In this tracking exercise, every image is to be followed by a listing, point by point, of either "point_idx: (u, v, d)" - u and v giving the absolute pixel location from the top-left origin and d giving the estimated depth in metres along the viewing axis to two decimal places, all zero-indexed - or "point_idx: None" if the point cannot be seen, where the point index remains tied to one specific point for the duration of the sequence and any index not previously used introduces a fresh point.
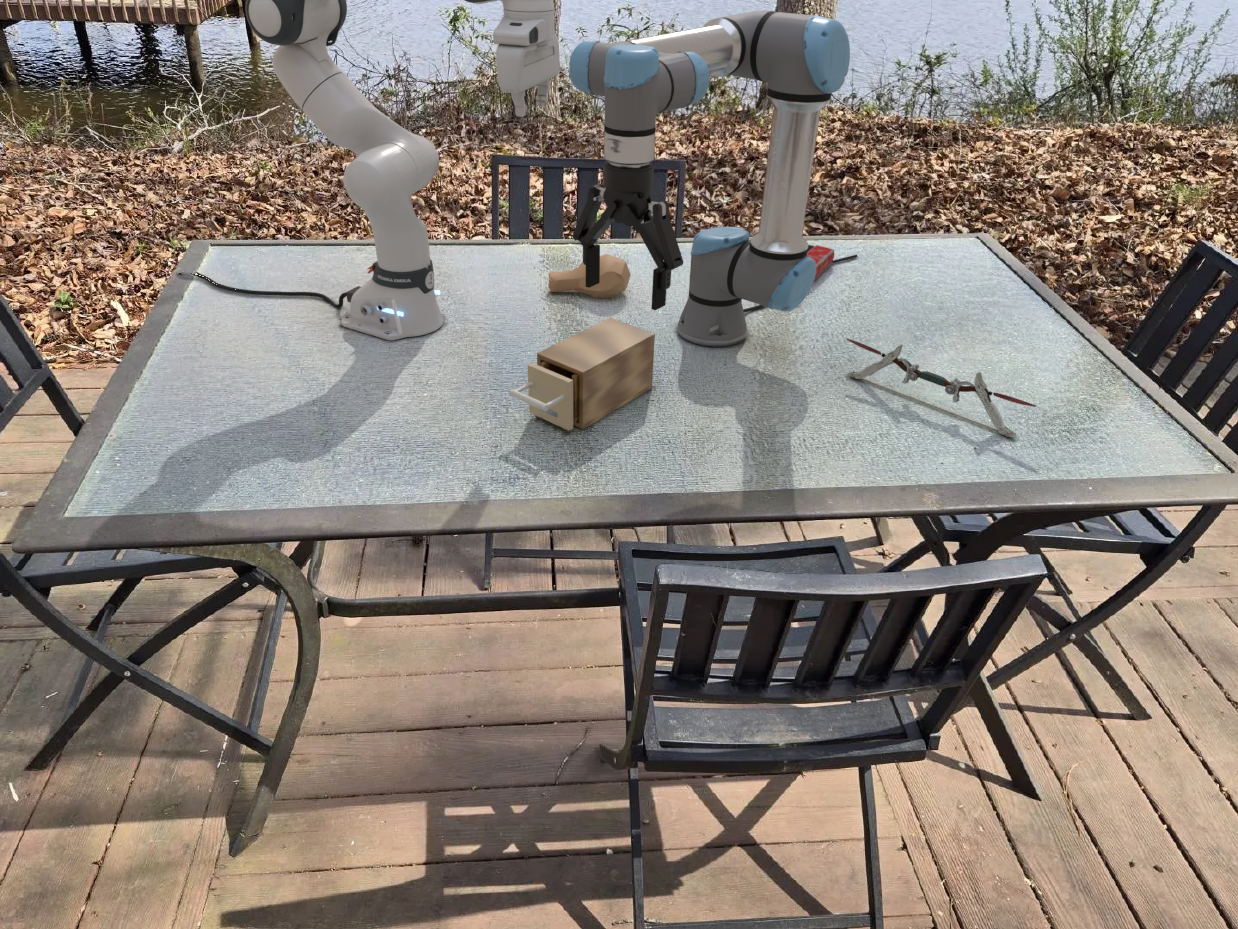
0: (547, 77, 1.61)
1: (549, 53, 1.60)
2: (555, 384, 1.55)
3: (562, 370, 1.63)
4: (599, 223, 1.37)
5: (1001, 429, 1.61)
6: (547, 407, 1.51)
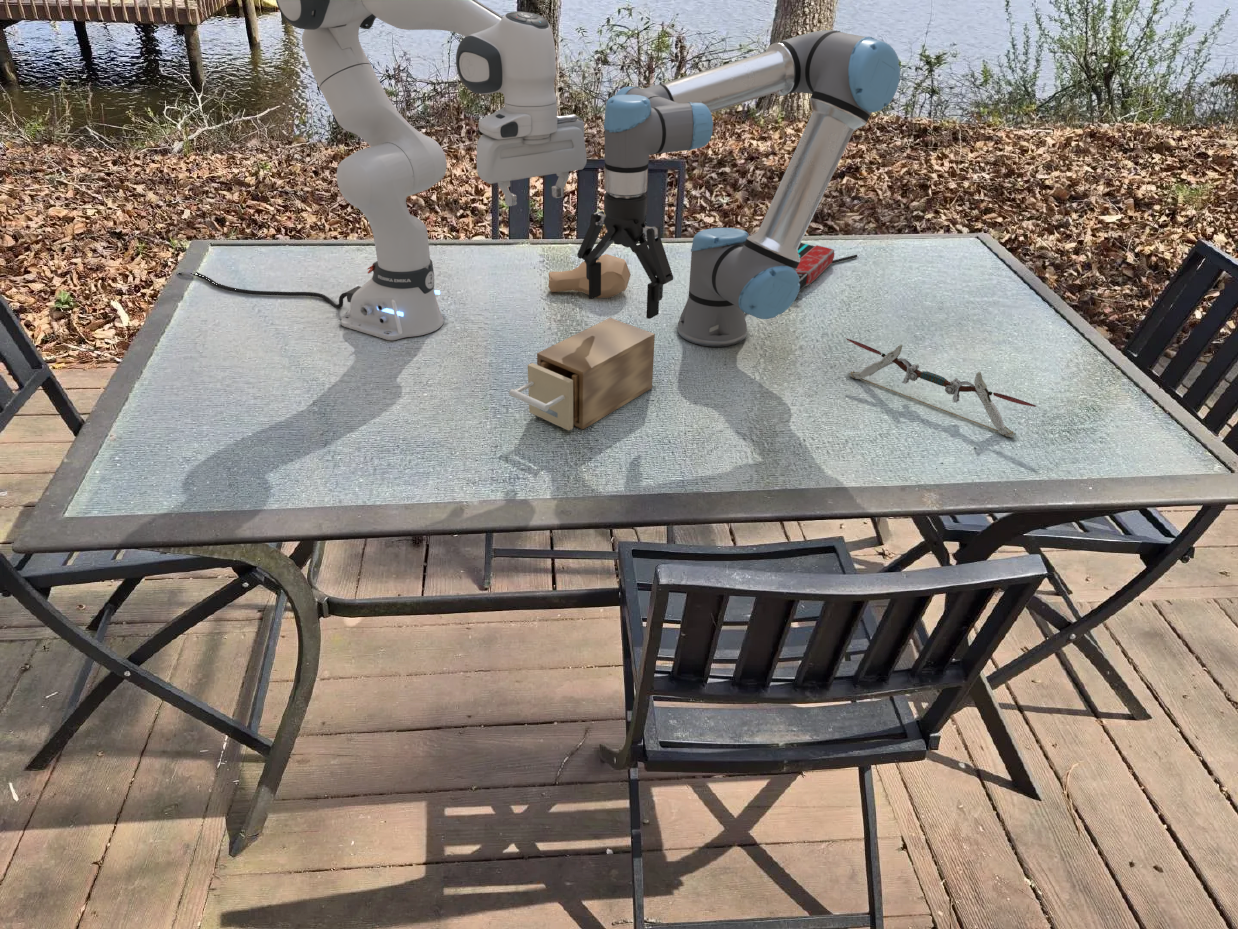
0: (555, 170, 1.54)
1: (563, 146, 1.53)
2: (555, 384, 1.55)
3: (562, 370, 1.63)
4: None
5: (1001, 429, 1.61)
6: (547, 407, 1.51)
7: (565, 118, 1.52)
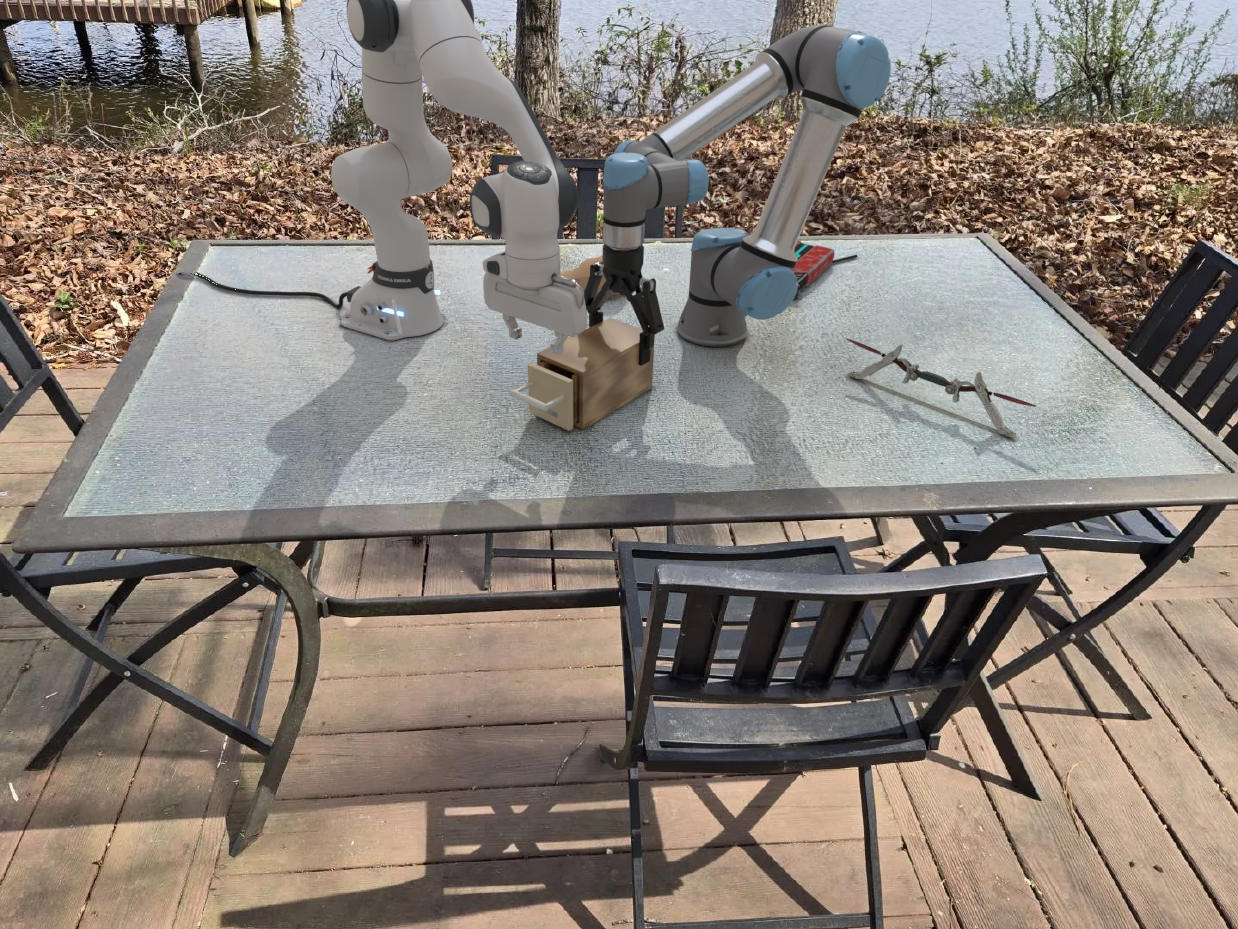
0: (543, 325, 1.45)
1: (553, 306, 1.42)
2: (555, 384, 1.55)
3: (562, 370, 1.63)
4: None
5: (1001, 429, 1.61)
6: (547, 407, 1.51)
7: (561, 279, 1.40)
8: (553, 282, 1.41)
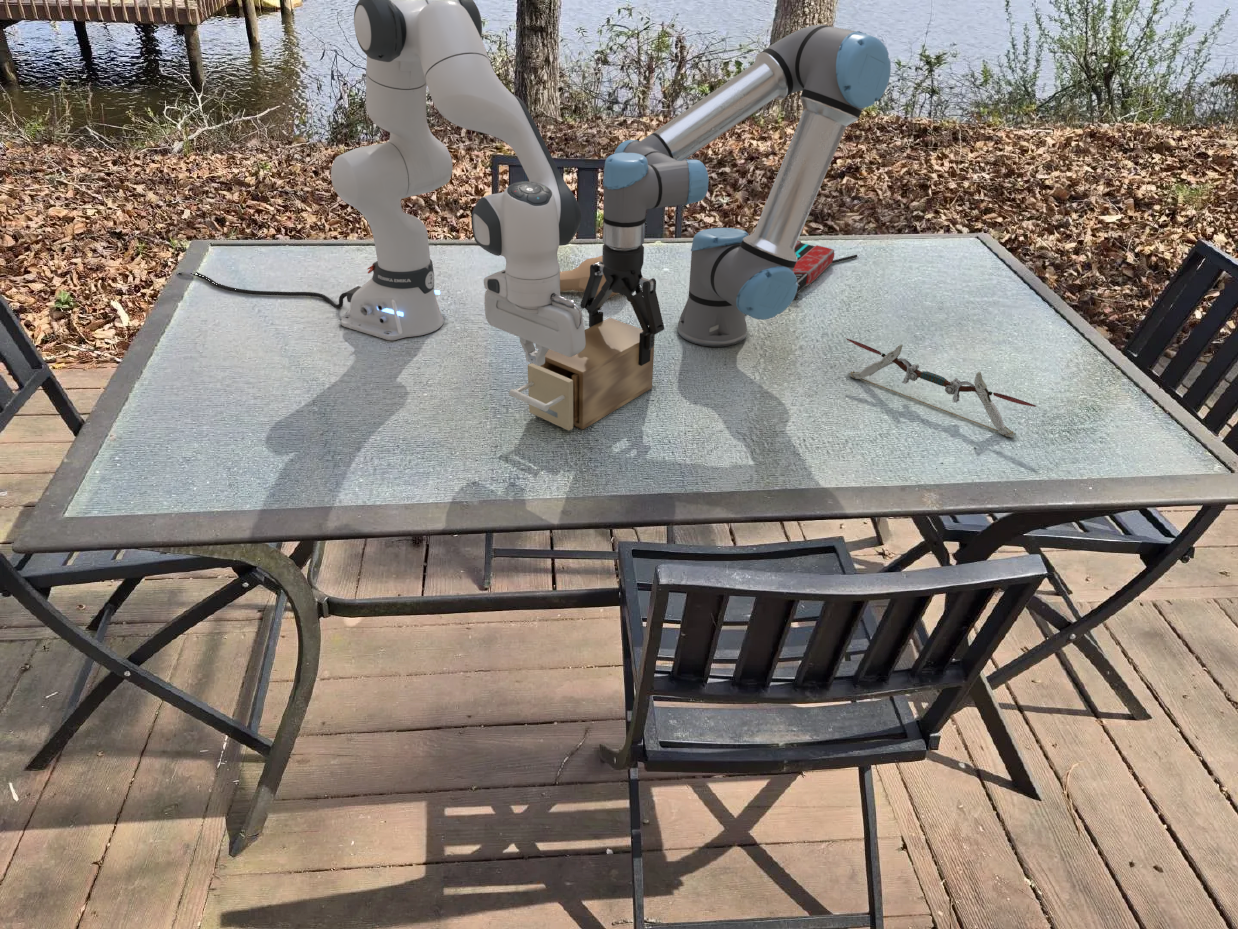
0: (542, 344, 1.45)
1: (551, 326, 1.42)
2: (555, 384, 1.55)
3: (562, 370, 1.63)
4: None
5: (1001, 429, 1.61)
6: (547, 407, 1.51)
7: (560, 299, 1.40)
8: (552, 302, 1.41)
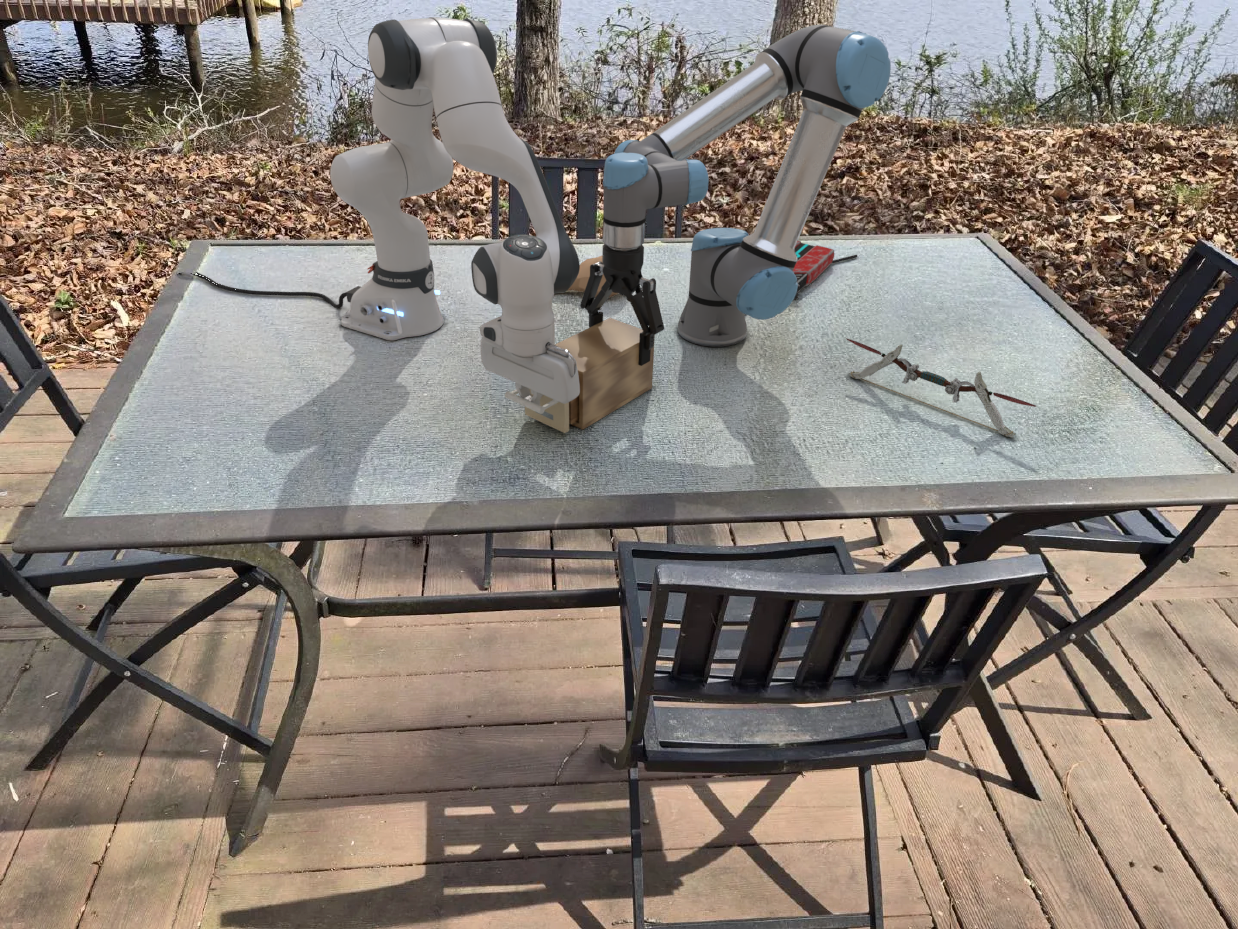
0: (537, 390, 1.48)
1: (546, 373, 1.46)
2: None
3: None
4: None
5: (1001, 429, 1.61)
6: (543, 410, 1.50)
7: (554, 348, 1.43)
8: (547, 350, 1.45)
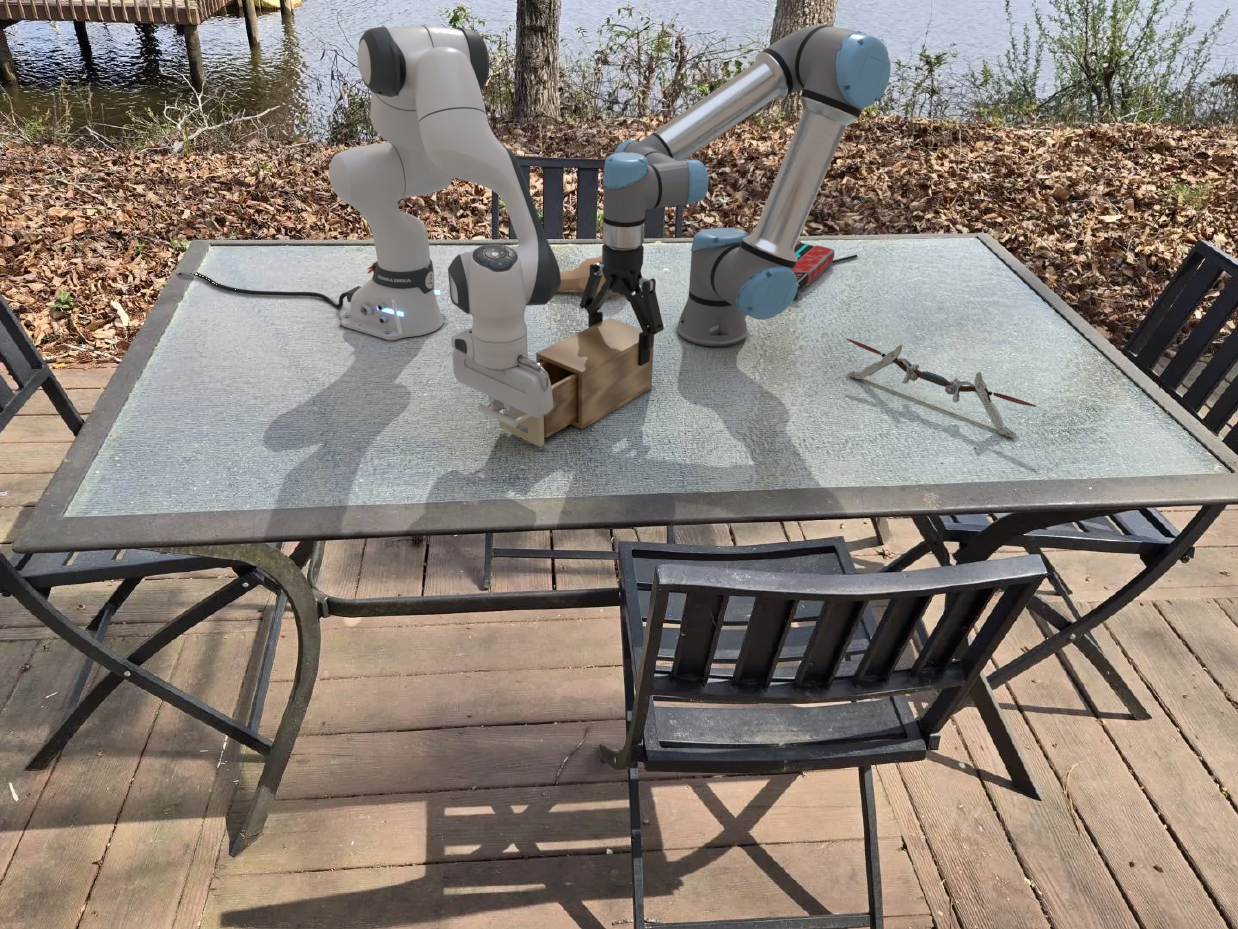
0: (510, 404, 1.44)
1: (518, 387, 1.41)
2: None
3: None
4: None
5: (1001, 429, 1.61)
6: (516, 423, 1.46)
7: (526, 362, 1.39)
8: (519, 363, 1.41)
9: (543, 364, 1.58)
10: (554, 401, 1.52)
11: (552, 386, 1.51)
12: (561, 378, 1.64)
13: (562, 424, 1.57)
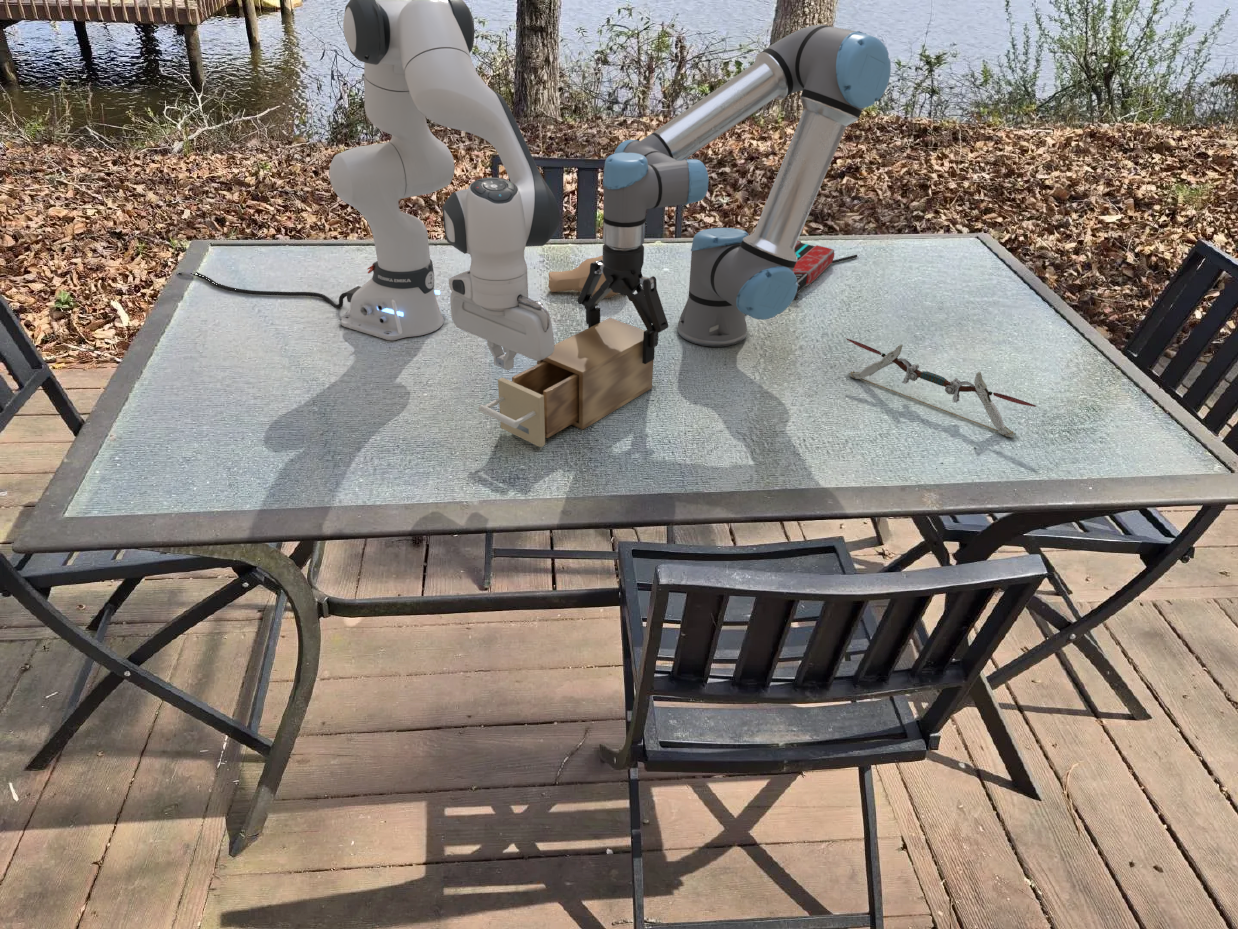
0: (509, 347, 1.39)
1: (518, 328, 1.36)
2: (525, 399, 1.50)
3: (534, 384, 1.58)
4: None
5: (1001, 429, 1.61)
6: (517, 424, 1.46)
7: (526, 301, 1.34)
8: (519, 304, 1.35)
9: (544, 364, 1.58)
10: (555, 402, 1.53)
11: (553, 387, 1.51)
12: (562, 378, 1.64)
13: (563, 424, 1.57)
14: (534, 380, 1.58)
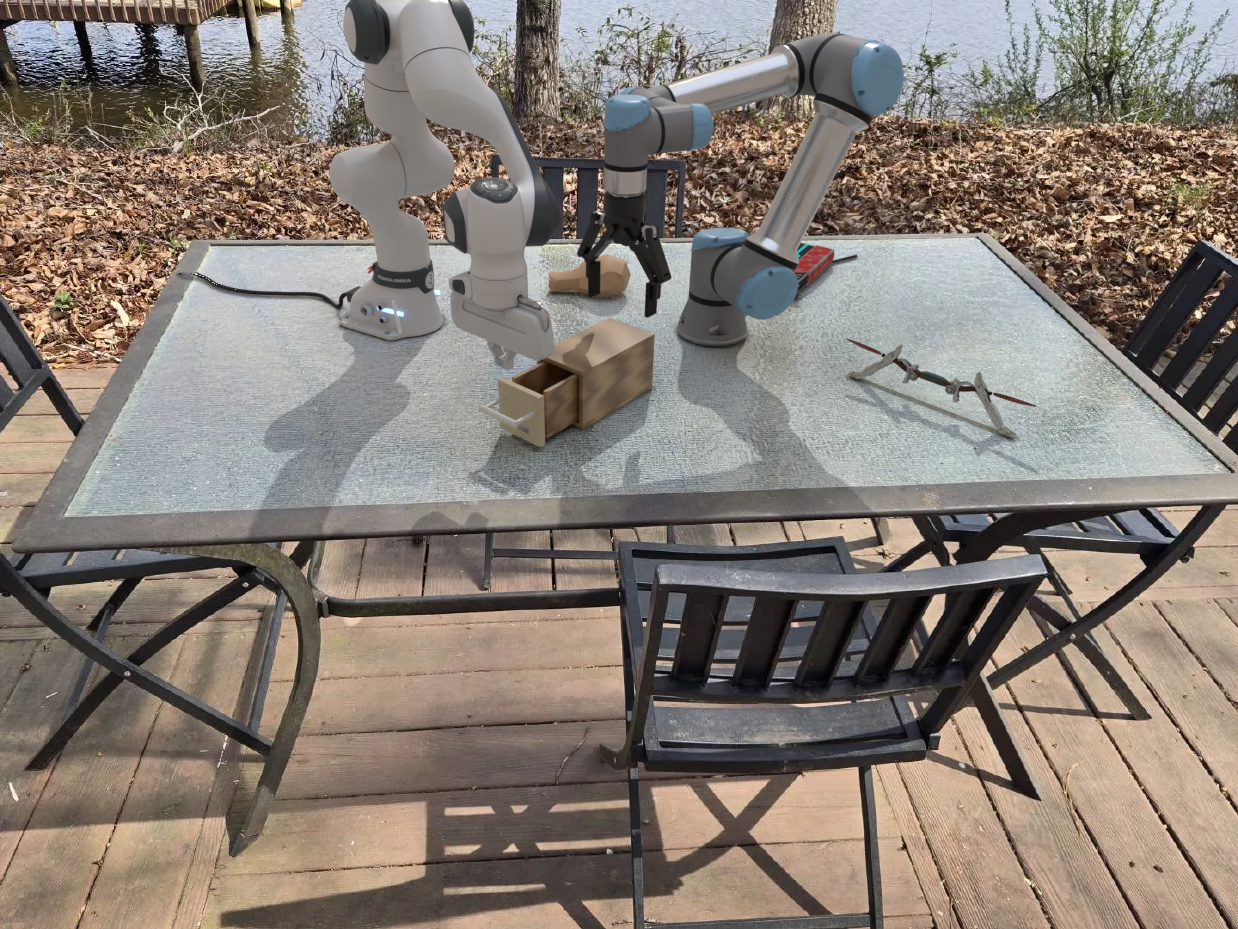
0: (509, 347, 1.39)
1: (518, 328, 1.36)
2: (525, 399, 1.50)
3: (534, 384, 1.58)
4: None
5: (1001, 429, 1.61)
6: (517, 424, 1.46)
7: (526, 301, 1.34)
8: (519, 304, 1.35)
9: (544, 364, 1.58)
10: (555, 402, 1.53)
11: (553, 387, 1.51)
12: (562, 378, 1.64)
13: (563, 424, 1.57)
14: (534, 380, 1.58)
